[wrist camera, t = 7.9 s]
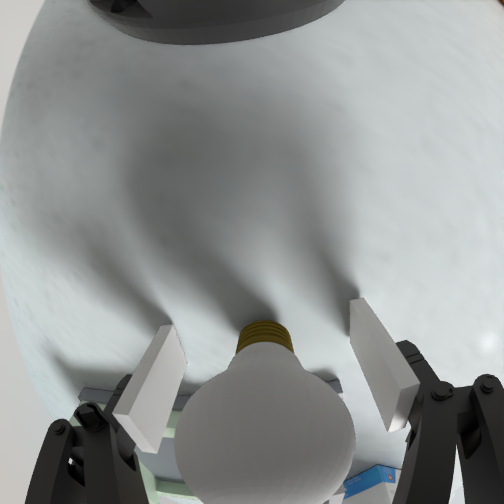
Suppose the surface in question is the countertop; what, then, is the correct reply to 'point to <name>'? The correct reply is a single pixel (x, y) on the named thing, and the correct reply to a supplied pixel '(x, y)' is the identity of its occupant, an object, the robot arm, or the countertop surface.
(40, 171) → the countertop surface
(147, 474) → the compartment tray
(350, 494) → the ink box
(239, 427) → the light bulb
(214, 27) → the robot arm
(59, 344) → the countertop surface
